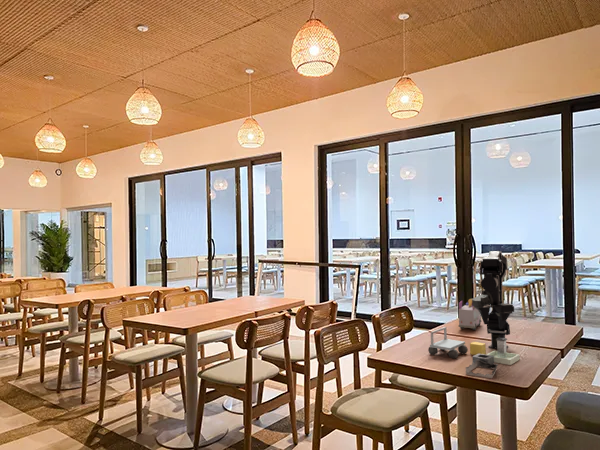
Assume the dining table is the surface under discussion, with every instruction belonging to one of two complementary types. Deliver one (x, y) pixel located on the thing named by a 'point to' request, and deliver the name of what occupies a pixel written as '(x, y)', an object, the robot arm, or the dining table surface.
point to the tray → (509, 361)
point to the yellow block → (477, 348)
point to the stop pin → (501, 347)
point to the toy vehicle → (469, 316)
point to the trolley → (447, 345)
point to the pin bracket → (483, 358)
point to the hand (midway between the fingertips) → (493, 326)
